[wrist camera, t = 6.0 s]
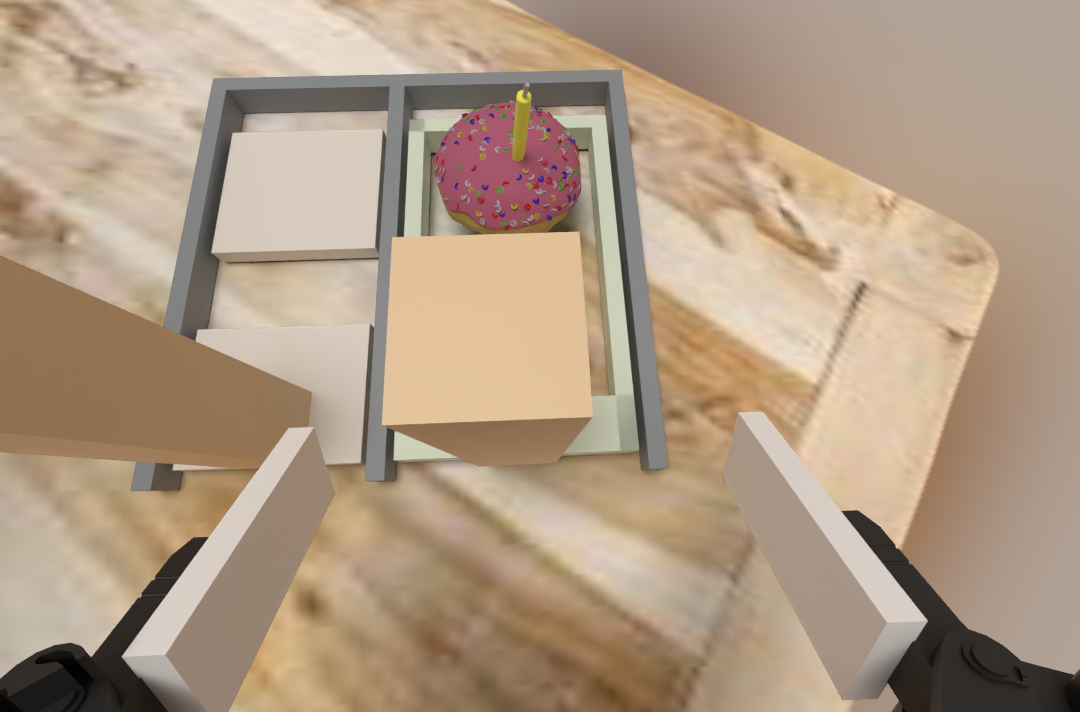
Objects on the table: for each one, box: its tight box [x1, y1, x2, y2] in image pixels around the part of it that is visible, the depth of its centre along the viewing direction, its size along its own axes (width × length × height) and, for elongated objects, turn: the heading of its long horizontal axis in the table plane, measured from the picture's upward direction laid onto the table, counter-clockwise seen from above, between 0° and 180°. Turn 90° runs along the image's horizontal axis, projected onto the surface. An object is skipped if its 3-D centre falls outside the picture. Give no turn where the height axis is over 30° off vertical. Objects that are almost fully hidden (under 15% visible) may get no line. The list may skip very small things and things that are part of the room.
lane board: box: [131, 70, 668, 491], centre depth 29 cm, size 27×28×2 cm
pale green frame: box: [382, 115, 639, 466], centre depth 20 cm, size 22×13×18 cm, turn 2°
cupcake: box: [434, 83, 581, 235], centre depth 25 cm, size 9×8×12 cm
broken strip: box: [0, 129, 386, 471], centre depth 21 cm, size 22×10×17 cm, turn 2°
